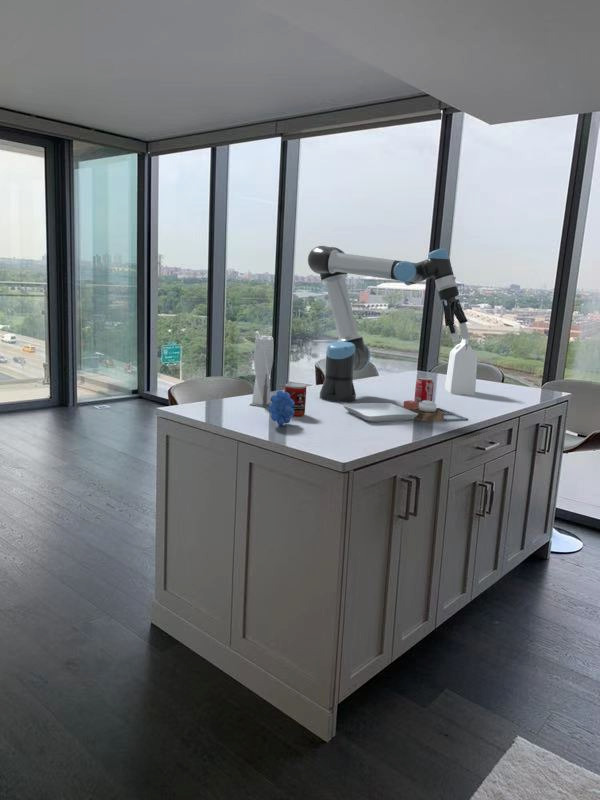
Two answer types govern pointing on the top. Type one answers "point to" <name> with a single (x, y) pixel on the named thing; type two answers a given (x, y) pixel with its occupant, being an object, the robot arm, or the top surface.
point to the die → (410, 404)
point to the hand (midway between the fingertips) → (461, 340)
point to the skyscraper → (262, 370)
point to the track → (452, 414)
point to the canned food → (297, 397)
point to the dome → (427, 406)
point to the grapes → (281, 407)
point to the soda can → (424, 389)
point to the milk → (462, 369)
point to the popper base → (428, 415)
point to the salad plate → (380, 412)
